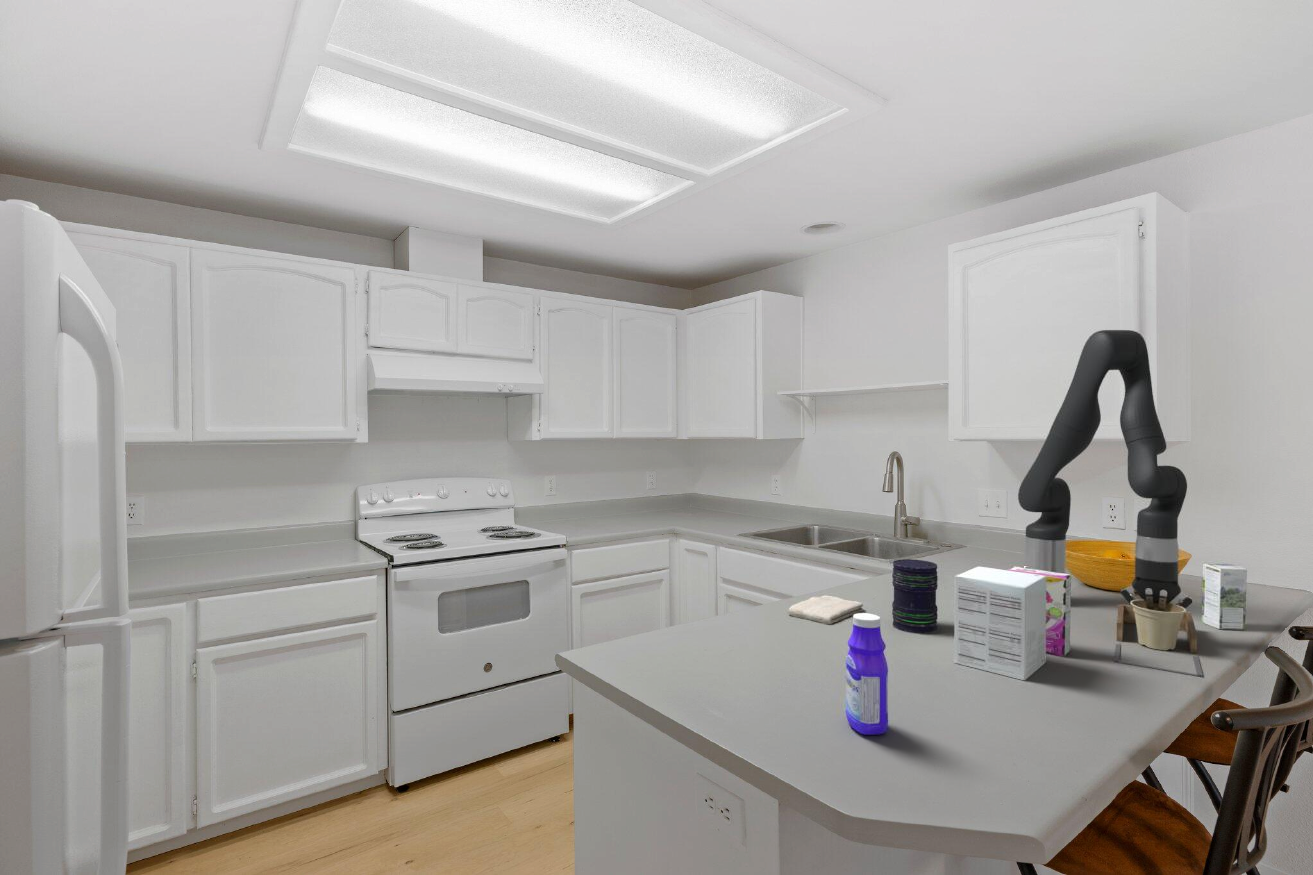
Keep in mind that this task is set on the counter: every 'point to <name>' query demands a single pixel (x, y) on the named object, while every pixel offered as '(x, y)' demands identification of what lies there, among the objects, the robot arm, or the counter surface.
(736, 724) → the counter surface
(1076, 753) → the counter surface
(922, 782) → the counter surface
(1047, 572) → the candy bar box
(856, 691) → the bottle
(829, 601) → the washcloth
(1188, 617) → the brown wooden frame
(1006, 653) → the supplement box
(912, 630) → the storage jar
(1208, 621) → the syrup box
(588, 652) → the counter surface
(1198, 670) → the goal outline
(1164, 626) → the flower pot
